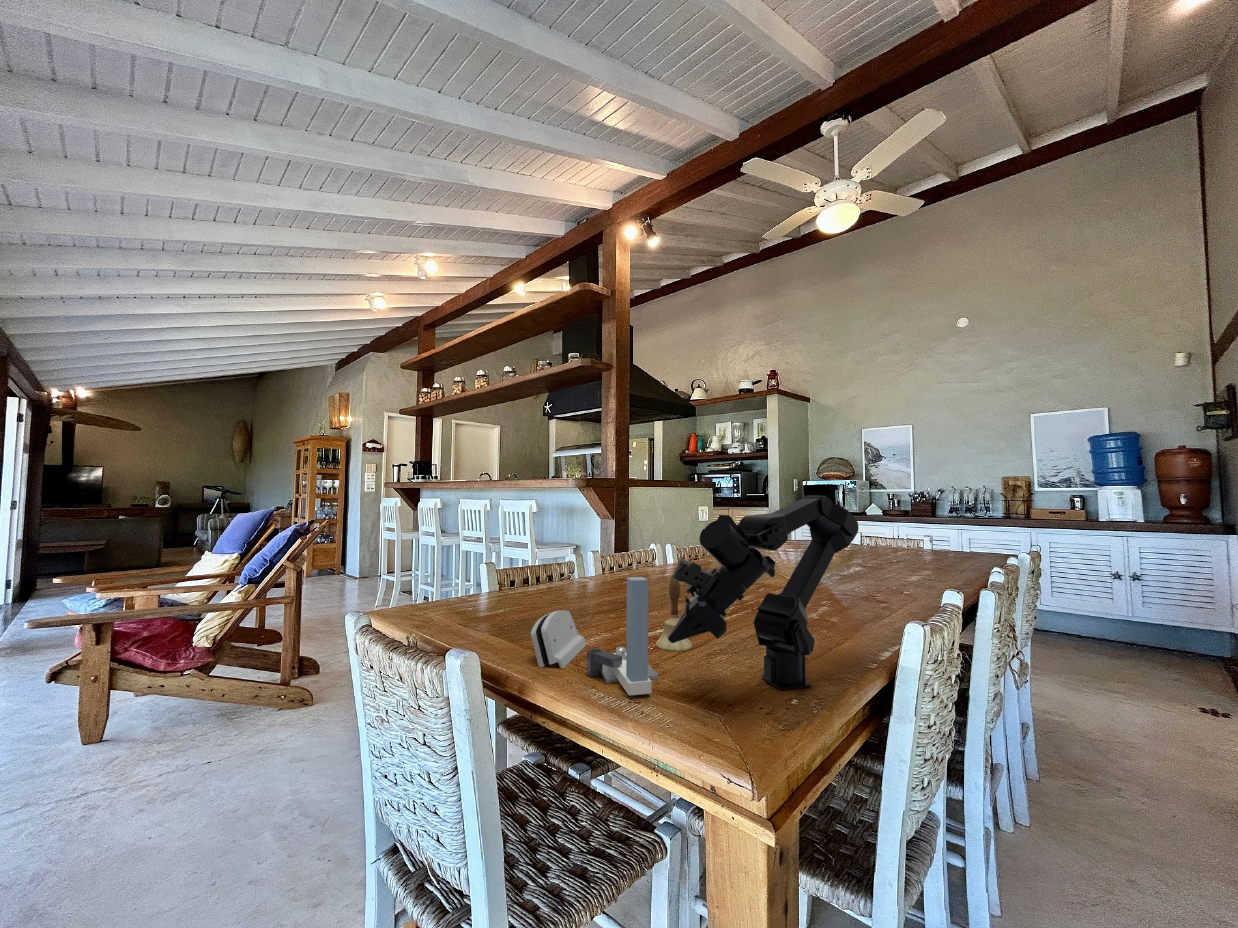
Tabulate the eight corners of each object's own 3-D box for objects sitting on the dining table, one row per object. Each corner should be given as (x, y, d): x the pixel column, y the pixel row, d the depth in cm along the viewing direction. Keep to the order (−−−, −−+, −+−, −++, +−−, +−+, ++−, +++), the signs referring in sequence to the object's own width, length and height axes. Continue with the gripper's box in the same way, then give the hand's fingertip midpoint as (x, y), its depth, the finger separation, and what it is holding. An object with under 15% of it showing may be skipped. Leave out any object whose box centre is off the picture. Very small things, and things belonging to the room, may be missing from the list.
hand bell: (699, 645, 116) (699, 574, 117) (677, 653, 110) (677, 578, 111) (670, 638, 122) (670, 570, 123) (648, 645, 116) (648, 574, 117)
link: (607, 663, 101) (607, 567, 102) (626, 662, 102) (627, 566, 103) (628, 695, 86) (629, 581, 87) (651, 693, 87) (651, 580, 88)
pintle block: (642, 660, 105) (642, 638, 105) (660, 680, 95) (660, 655, 95) (582, 665, 102) (582, 642, 102) (593, 686, 91) (593, 660, 92)
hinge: (562, 669, 100) (546, 619, 101) (540, 675, 101) (525, 626, 102) (586, 644, 116) (573, 601, 118) (568, 649, 117) (554, 607, 119)
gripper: (697, 538, 98) (639, 595, 99) (704, 549, 80) (633, 619, 80) (739, 581, 97) (680, 638, 97) (756, 602, 78) (684, 673, 79)
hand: (669, 640), depth 88 cm, fingers closed
